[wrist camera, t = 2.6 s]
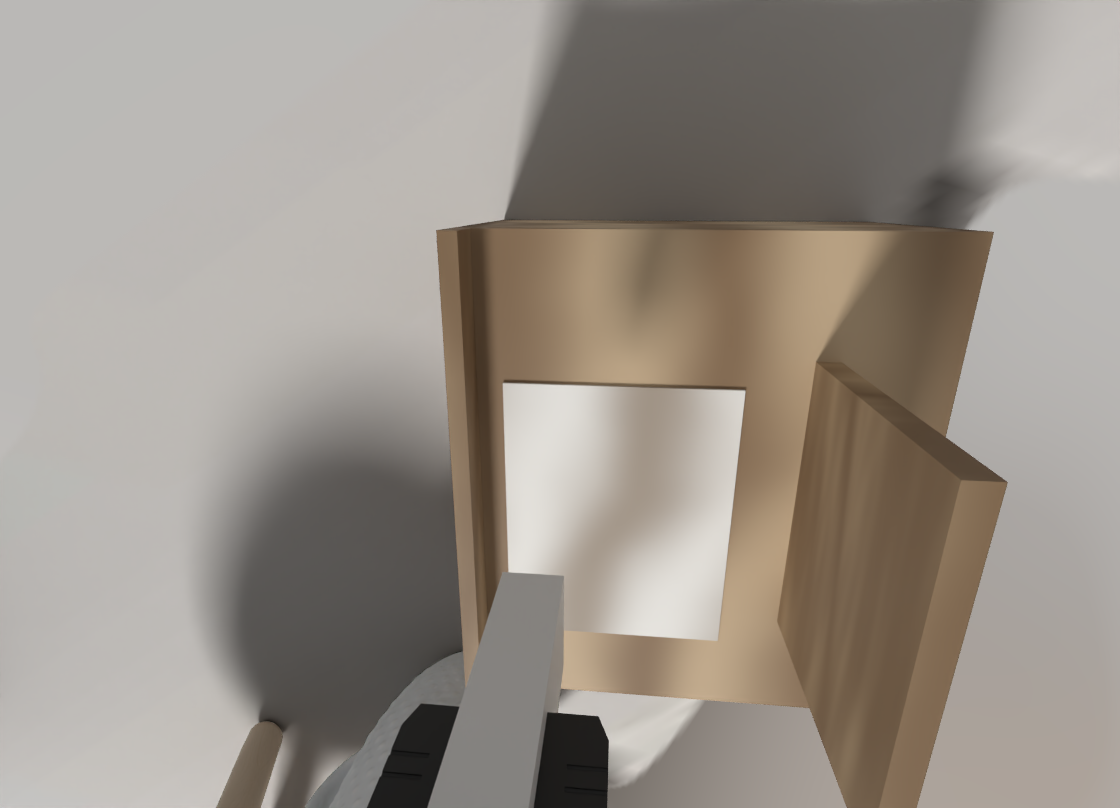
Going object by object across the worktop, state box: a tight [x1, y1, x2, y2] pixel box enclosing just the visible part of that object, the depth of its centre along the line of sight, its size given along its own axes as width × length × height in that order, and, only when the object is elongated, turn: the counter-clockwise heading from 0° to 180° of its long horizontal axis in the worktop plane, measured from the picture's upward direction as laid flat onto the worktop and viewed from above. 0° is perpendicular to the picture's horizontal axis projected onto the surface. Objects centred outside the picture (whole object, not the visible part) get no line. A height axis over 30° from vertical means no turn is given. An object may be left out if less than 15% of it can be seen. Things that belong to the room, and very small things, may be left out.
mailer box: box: [462, 220, 976, 231], centre depth 25 cm, size 16×18×8 cm
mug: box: [305, 652, 465, 808], centre depth 30 cm, size 15×11×13 cm
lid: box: [436, 227, 1007, 808], centre depth 17 cm, size 16×18×9 cm
